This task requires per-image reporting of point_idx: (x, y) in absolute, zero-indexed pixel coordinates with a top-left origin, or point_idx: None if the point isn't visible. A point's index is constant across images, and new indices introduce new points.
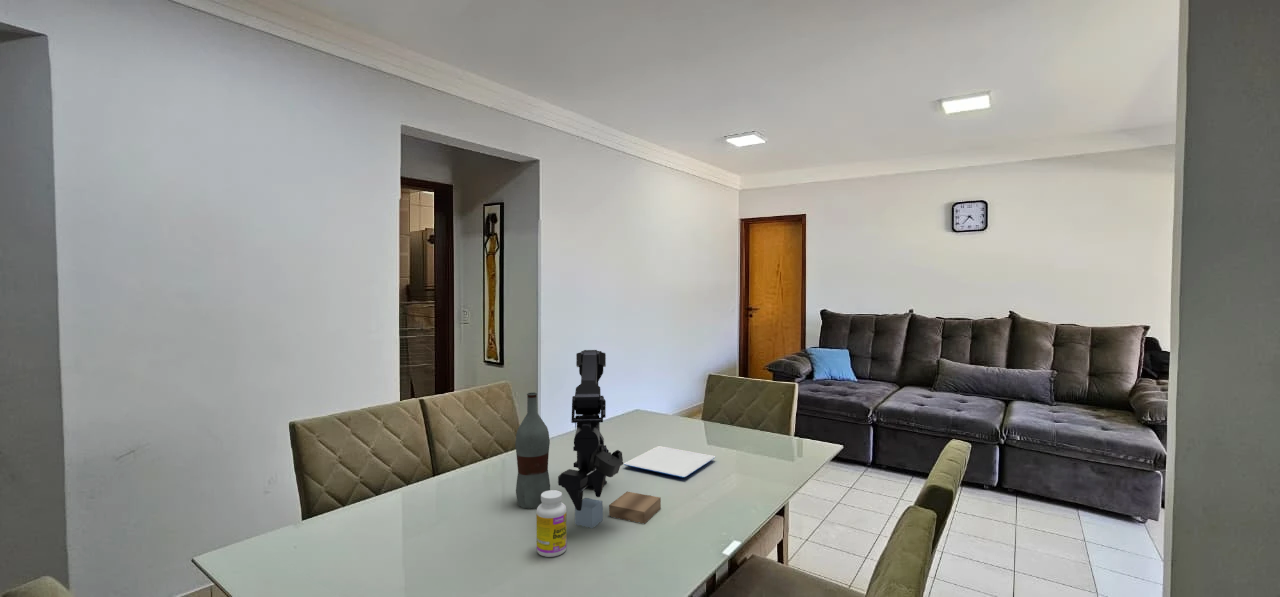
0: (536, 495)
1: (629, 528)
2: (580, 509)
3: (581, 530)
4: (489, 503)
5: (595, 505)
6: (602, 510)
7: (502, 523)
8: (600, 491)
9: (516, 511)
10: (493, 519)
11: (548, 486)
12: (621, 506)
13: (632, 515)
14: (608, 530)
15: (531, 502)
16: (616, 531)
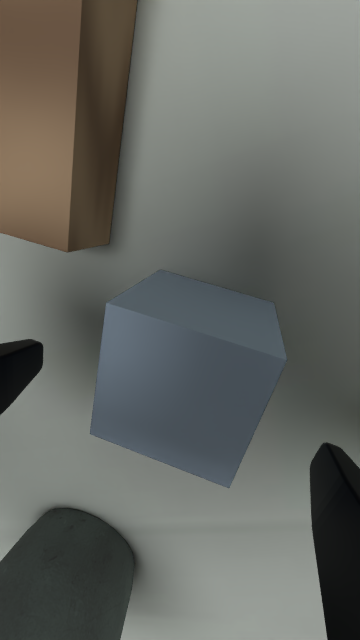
0: (103, 602)
1: (247, 26)
2: (347, 455)
3: (307, 355)
4: (130, 635)
5: (212, 343)
6: (140, 282)
7: (264, 618)
8: (1, 356)
9: (162, 584)
10: (236, 635)
11: (28, 589)
12: (58, 137)
13: (112, 20)
14: (296, 192)
15: (124, 580)
16: (309, 124)
